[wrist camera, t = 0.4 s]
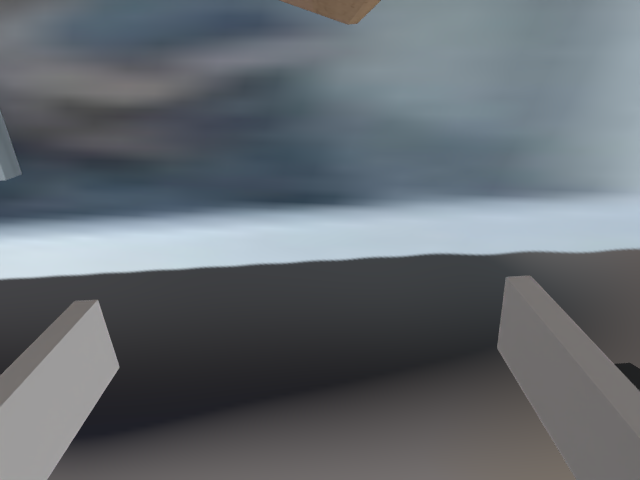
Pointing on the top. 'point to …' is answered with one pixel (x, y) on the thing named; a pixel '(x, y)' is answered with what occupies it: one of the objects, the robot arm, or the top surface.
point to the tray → (7, 154)
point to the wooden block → (337, 8)
